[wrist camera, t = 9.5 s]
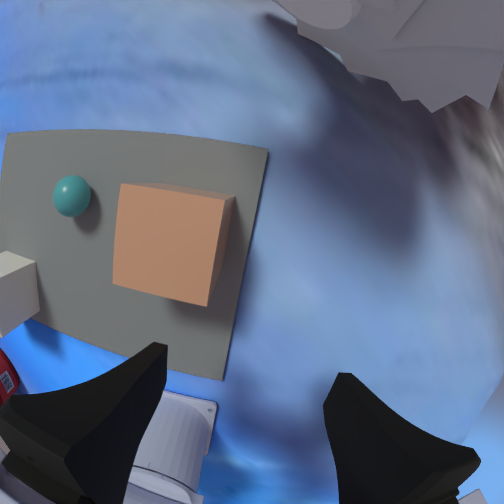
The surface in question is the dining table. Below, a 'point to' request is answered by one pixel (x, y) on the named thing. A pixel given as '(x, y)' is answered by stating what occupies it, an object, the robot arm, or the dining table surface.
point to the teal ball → (71, 196)
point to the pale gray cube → (17, 291)
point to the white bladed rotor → (412, 43)
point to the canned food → (7, 378)
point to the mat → (103, 236)
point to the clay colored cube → (170, 240)
